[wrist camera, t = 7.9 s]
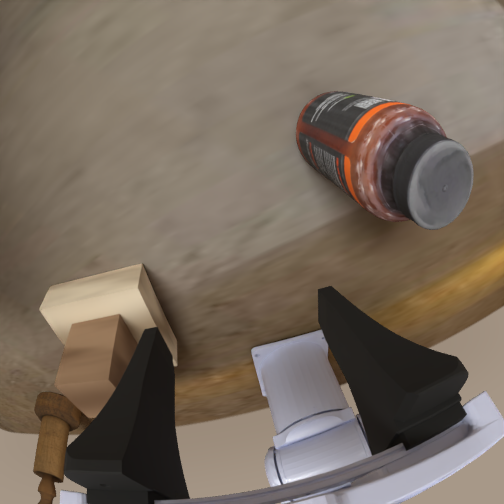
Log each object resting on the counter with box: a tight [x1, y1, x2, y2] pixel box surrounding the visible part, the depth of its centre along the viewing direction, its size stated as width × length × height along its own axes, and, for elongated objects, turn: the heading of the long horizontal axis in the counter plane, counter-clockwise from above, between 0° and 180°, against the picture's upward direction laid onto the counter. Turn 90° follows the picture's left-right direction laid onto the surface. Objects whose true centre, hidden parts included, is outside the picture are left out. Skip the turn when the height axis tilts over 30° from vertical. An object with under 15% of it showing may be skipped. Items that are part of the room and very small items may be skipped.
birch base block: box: [39, 264, 178, 366], centre depth 24 cm, size 9×9×3 cm
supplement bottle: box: [296, 91, 473, 230], centre depth 15 cm, size 6×6×11 cm
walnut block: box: [54, 314, 138, 418], centre depth 20 cm, size 4×4×6 cm
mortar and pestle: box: [33, 392, 82, 504], centre depth 24 cm, size 7×6×18 cm
